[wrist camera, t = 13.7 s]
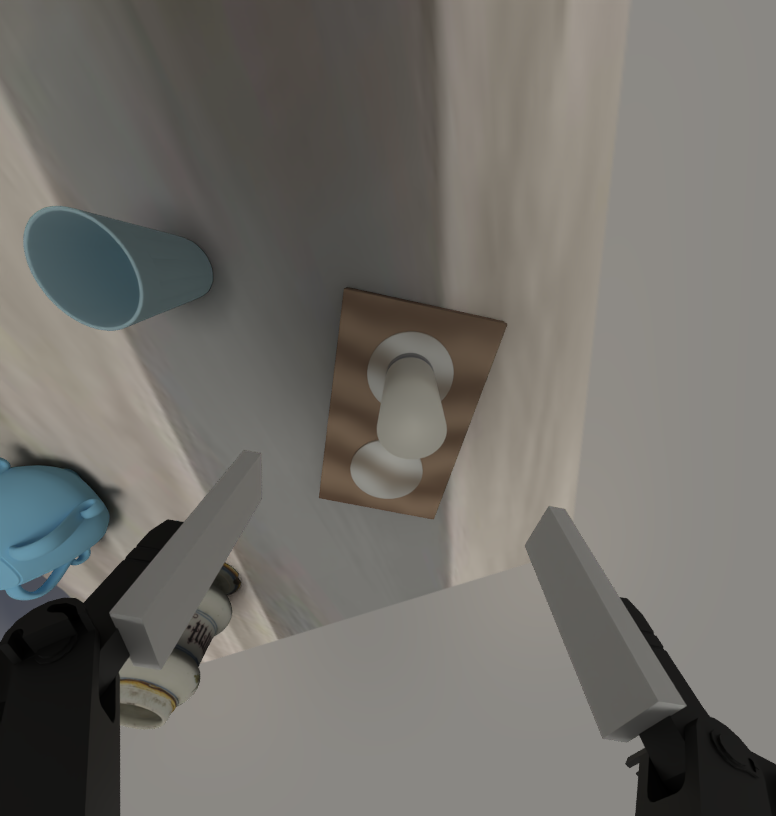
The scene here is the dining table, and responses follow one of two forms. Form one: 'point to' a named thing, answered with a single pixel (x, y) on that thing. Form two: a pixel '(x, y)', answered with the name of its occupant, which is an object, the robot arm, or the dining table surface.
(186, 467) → the dining table surface
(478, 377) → the seat board
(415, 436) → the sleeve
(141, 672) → the apothecary jar
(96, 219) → the cup
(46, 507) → the decorative pot
